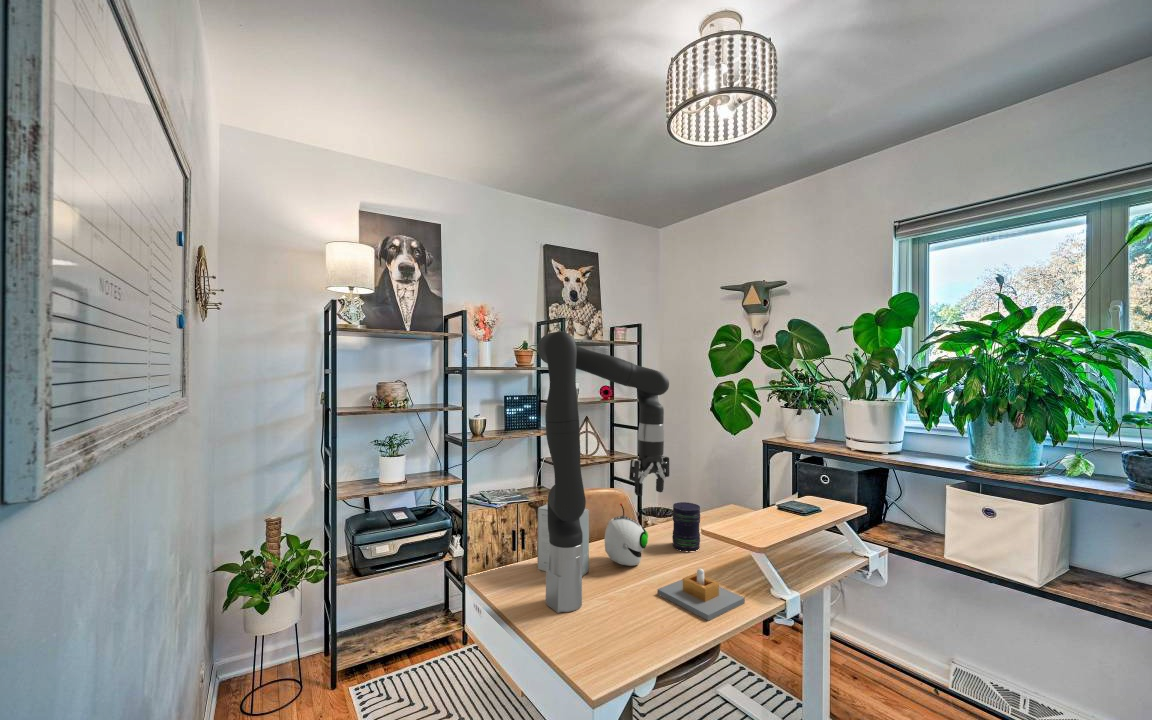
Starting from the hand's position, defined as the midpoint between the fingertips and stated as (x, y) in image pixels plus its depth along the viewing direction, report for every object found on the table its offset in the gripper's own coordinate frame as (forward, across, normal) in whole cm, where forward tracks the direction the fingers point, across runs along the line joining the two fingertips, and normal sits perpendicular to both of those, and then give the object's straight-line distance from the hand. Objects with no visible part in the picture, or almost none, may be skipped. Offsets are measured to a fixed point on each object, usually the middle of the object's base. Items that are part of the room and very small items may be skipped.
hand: (649, 493), depth 144 cm
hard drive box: (+29, -12, +25) cm, 40 cm away
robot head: (+29, +8, +17) cm, 34 cm away
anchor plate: (+28, +9, -13) cm, 32 cm away
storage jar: (+28, +36, +16) cm, 48 cm away
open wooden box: (+27, +9, -13) cm, 31 cm away
